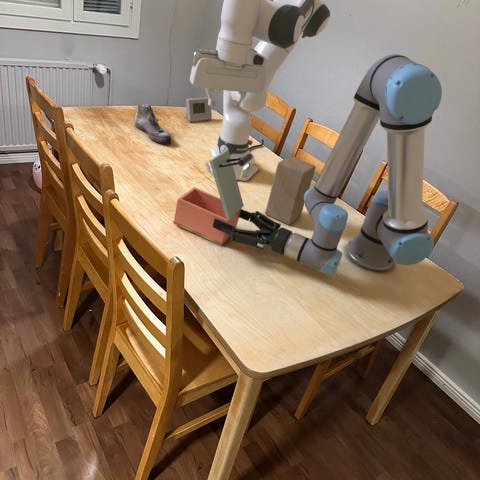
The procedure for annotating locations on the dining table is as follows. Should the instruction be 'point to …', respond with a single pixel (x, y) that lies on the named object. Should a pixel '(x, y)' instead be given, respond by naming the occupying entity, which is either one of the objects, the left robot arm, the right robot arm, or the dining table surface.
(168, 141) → the shoe
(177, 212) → the chest
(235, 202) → the lid
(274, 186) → the wooden block
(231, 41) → the left robot arm
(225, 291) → the dining table surface
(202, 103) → the digital clock
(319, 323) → the dining table surface
